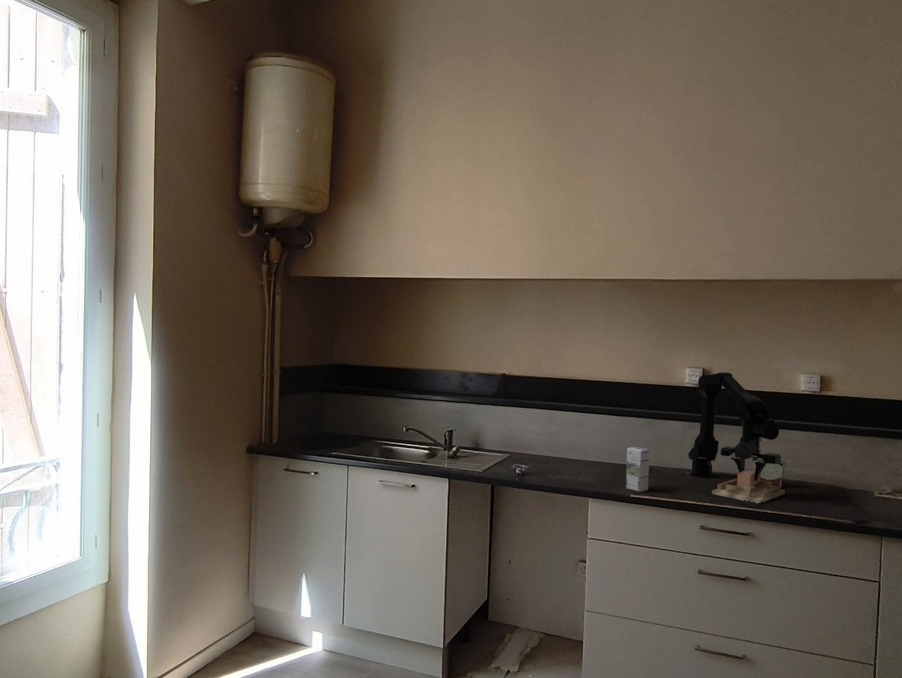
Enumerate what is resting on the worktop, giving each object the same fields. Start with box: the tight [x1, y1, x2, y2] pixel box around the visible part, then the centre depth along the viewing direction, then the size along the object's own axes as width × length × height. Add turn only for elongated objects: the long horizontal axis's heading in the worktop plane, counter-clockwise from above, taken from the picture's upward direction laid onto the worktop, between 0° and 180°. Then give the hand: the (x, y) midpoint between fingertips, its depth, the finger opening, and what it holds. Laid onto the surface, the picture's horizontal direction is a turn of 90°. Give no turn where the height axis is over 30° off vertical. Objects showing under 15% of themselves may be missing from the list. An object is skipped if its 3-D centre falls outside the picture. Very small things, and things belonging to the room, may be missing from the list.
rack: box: [711, 478, 786, 504], centre depth 228 cm, size 16×22×4 cm
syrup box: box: [625, 446, 650, 493], centre depth 228 cm, size 6×6×14 cm
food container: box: [750, 458, 787, 488], centre depth 244 cm, size 12×6×10 cm, turn 41°
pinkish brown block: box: [736, 467, 760, 488], centre depth 228 cm, size 4×14×4 cm, turn 141°
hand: (749, 479), depth 228 cm, fingers closed on pinkish brown block, 4 cm apart
